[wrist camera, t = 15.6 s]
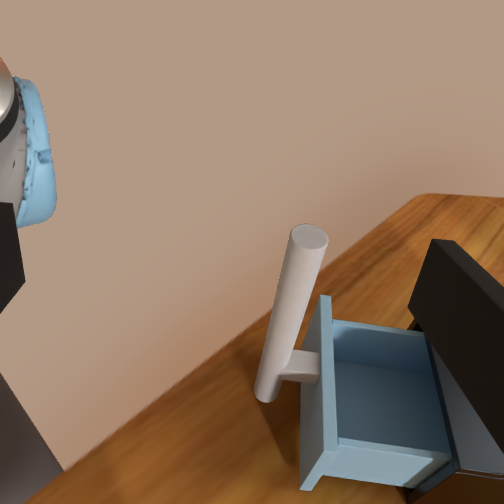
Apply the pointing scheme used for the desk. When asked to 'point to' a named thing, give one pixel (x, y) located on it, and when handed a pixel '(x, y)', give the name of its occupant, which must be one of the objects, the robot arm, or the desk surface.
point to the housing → (460, 448)
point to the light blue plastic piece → (351, 384)
